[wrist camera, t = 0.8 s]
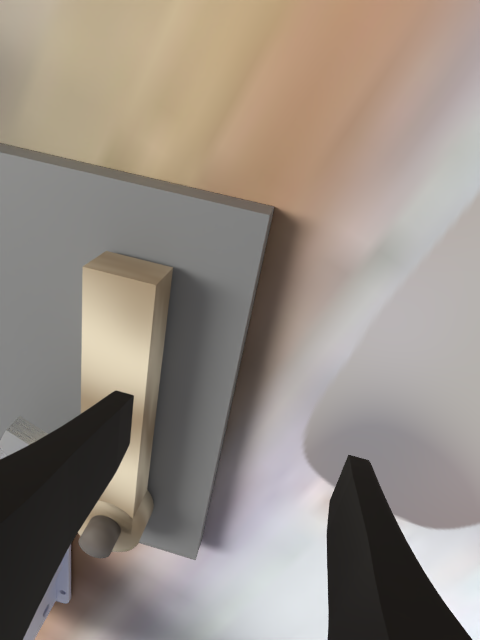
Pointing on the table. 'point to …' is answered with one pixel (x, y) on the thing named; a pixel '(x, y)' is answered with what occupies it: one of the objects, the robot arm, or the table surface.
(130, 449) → the link
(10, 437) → the keeper
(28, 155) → the board
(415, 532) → the table surface
